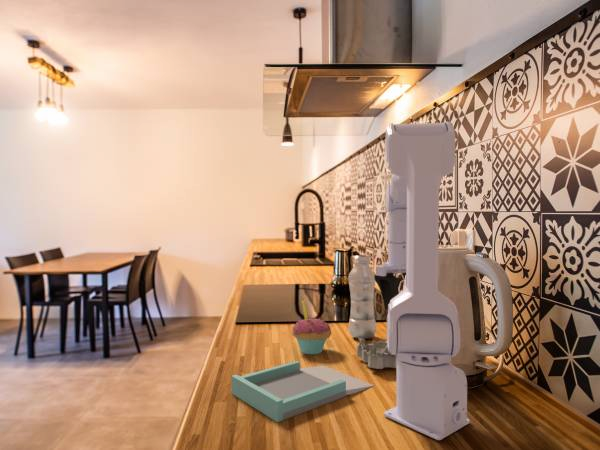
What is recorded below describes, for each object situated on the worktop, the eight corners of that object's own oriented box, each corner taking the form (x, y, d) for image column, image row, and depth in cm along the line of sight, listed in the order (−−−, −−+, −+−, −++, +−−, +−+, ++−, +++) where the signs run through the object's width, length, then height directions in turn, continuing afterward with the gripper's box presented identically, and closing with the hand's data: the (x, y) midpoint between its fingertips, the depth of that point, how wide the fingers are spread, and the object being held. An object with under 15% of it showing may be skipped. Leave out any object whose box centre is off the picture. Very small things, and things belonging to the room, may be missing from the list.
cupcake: (297, 359, 89) (297, 301, 89) (288, 347, 97) (287, 294, 97) (336, 355, 91) (336, 299, 91) (323, 343, 100) (323, 292, 99)
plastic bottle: (376, 342, 101) (376, 257, 100) (347, 340, 102) (347, 256, 101) (376, 334, 107) (376, 254, 106) (349, 333, 108) (349, 254, 108)
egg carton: (353, 354, 90) (354, 334, 90) (387, 354, 91) (388, 334, 91) (368, 369, 80) (369, 347, 80) (407, 369, 81) (407, 347, 81)
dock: (374, 390, 75) (374, 368, 75) (277, 427, 62) (277, 401, 62) (324, 369, 85) (324, 350, 85) (231, 398, 72) (231, 375, 72)
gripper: (407, 240, 98) (407, 299, 98) (364, 243, 88) (364, 308, 89) (434, 241, 92) (434, 304, 93) (391, 245, 83) (391, 314, 83)
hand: (401, 307), depth 90 cm, fingers open, 7 cm apart
